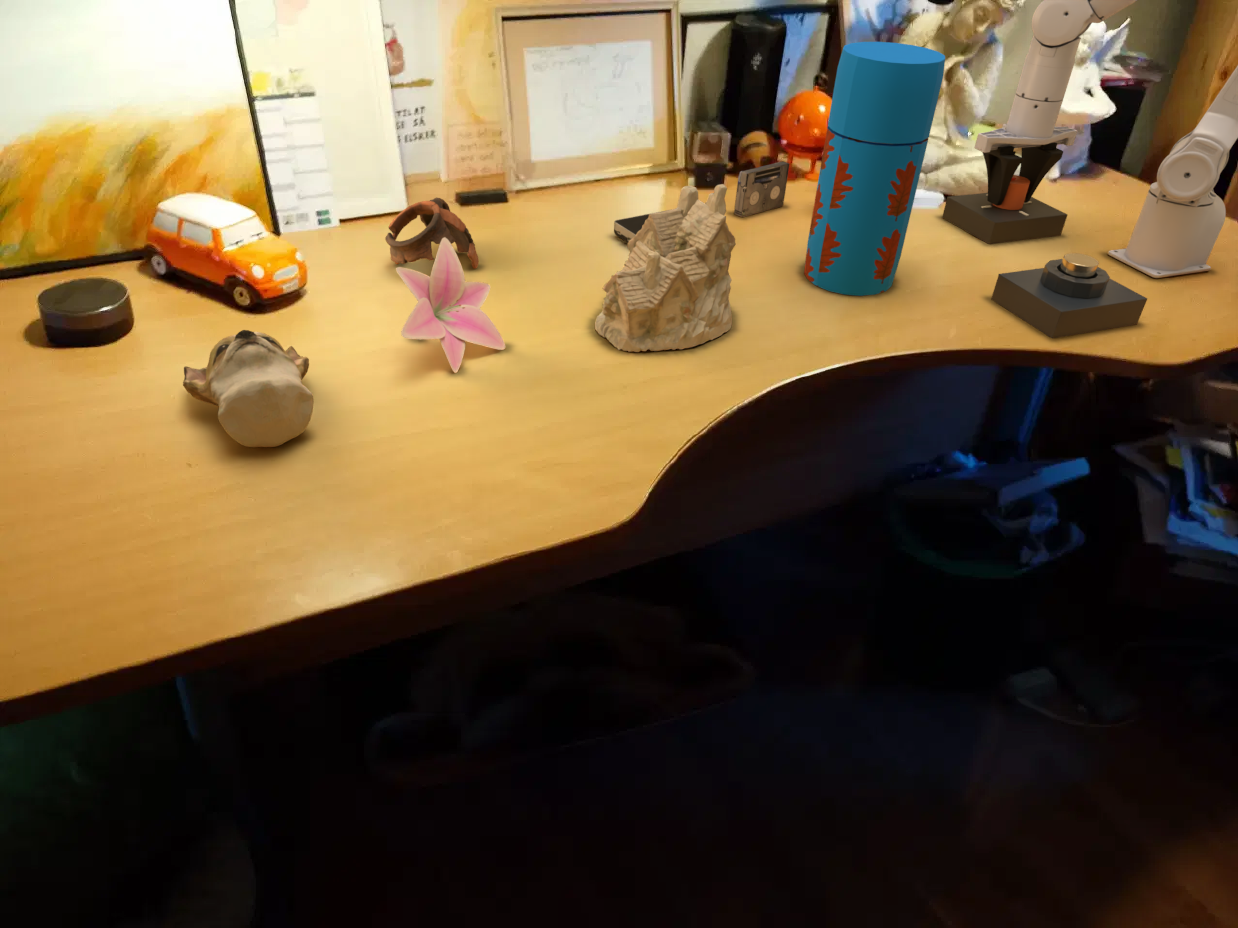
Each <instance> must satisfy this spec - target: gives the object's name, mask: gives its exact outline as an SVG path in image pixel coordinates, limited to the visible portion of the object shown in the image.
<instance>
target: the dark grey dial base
mask: <svg viewBox="0 0 1238 928" xmlns="http://www.w3.org/2000/svg"><path fill="white" fill-rule="evenodd" d="M987 198H988V192H981V193H972V194H971V193H969V194H959V195H951V196H946V200H945V203H944V207H943V208H944V209H943V212H942V216H941V218H942V219H944V220H946V221H947V222H949V223H951V224H952V225H954V226H956V227H958V228H959V229H961V230H963V231H965V232H967V233H968V234H970V235H972V236H973V237H975V238H976V239H979V240H980V241H981V242H984V243H986V244H987V245H994V244H1003V243H1004V244H1005V243H1011V242H1019V241H1020V242H1021V241H1027V240H1029V241H1030V240H1036V239H1044V238H1052V237H1053V238H1054V237H1061V235H1062V232H1063V229H1064V228H1065V227H1064V226H1065V224H1066V221H1067V218H1068V213H1065V212H1063V211H1062V210H1059V209H1058V208H1055V207H1053V206H1051V205H1049V204H1047V203H1046V202H1044V201H1041V200H1039V199H1037V198H1035V197H1033V196H1032V197H1031V198H1030V200H1029V202H1027V203H1024V204H1023V207H1022V208H1021V209H1019V210H1007V209H1002V208H998V207H996V206H994V205H993V204H992V203H990V202H989V201H987Z"/></svg>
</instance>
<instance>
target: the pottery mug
mask: <svg viewBox="0 0 1238 928" xmlns="http://www.w3.org/2000/svg"><path fill="white" fill-rule="evenodd" d="M418 216H419V219H420V222H421V223H423V224H424V226H425V228H424V229H423V230H422V231H421V232H419V233H418V234H416V235H414V236H413V237H410V238H408V239H405V240H397V239H398V236H399V234H400V233H401V232H402V230H403V229H404V228H406V226H408V224H410V223H411V222H412V221H414V220H416V219H418ZM388 230H389V231H390V232H387V235H385V238H384V240H385V242H386V243H387V245H388V246H389V255H390V260H391V261H392V262H394V264H396V265H400V264H401V265H406V264H408V263H414V262H417V261H419V260H423V259H425V260H428V261H432V262H433V261H435V259H434V256H433V249H432V243H434V244H435V245H440V242H441V240H442V238H444V237H445V238H447V239H448V240H449V242H450V243H451V245H452V244H454V243H455V246H456V251H457V252H458V253H461V254H462V253H465V254H467V258H468V259H469V260H470V264H471V266H472V268H473V269H474V270H476V269H477V268H478V266H479V261H480V260H479V255H478V253H477V249H476V244H475V242H474V240H473V237H472V234H471V233H470V231H469V228H467V225H466V224H465V223H464V221H462V219H461V218H460V217H459V216H458V215H457V214H456V213H454V212H452V211H451V209H450V206H449V204H448V203H447V202H446V201H445V200H444V199H442V198H441V197H433V199H430V200H422V201H418V202H415V203H413V204H411V205H409V206H407V207H406V208H405V209H403V210H401V211H400V212H399V213H398V214H397V215H396V216H395V217H394V218H393V219H392V220H391V222H390V223H389V226H388Z"/></svg>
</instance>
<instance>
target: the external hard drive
mask: <svg viewBox="0 0 1238 928" xmlns="http://www.w3.org/2000/svg"><path fill="white" fill-rule="evenodd" d="M672 209H673V208H672ZM672 209H670V210H672ZM668 210H669V209H667V210H661V211H657V212H655V213H659V212H664V211H668ZM653 213H654V212H651V213H646V214H640V215H635V216H629V217H625V218H619V219H615V220H614V221H613V233H614V235H615V236H617V237H618V238H619V239H621V240H623V241H625V242H626V243H628V242H629V241H630V240H631V239H632V238H633V237H635V236H636V234H637V232H638V231H639V230H641V229H642V225H644V223H645V220H647V219H648V217H649V215H650V214H653Z"/></svg>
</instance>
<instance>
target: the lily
mask: <svg viewBox="0 0 1238 928" xmlns="http://www.w3.org/2000/svg"><path fill="white" fill-rule="evenodd" d="M435 255H436V256H435V259H434V262H433V265H432V268H431V272H430V275H428V274H425V273H423V272H421V271H417V270H414V269H411V268H407V267H402V266H397V267H396V268H395V270H396V273H397V274H398V276H399V277H400V278H401V280H402V282H403V283H404V285H405V286H406V288H407V289H408V290H409V291H410V293H411V294H412V296H413V297H414V298H415V299H416V301H417V302H416V304H415V305H414V308H413V309H412V311H411V312H410V314H409V315H408V317H407V319H406V320H405V322H404V324H403V326H402V328H401V331H400V335H401V337H403V338H404V339H408V340H418V341H420V340H439V342H440V345H441V347H442V349H443V352H444V354H445V357H446V359H447V361H448V364H449V365H450V367H451V370H452V372H454V373H455V374H456V373H457V372H458V371H459V369H460V367H461V365H462V362H463V359H464V355H465V350H466V342H468V343H472V344H474V345H479V346H483V347H486V348H490V349H494V350H499V351H503V350H505V349H506V343H505V341H504V338H503V336H502V334H501V333H500V332H499V330H498V328H497V326H496V325H495V324H494V322H493V321H492V319H491V318H490V316H488V314H487V313H486V312H484V311H483V309H481V308H482V306H483V305H484V303H485V302H486V300H487V298H488V296H489V293H490V291H491V285H490V284H489V283H488V282H484V281H483V282H482V281H466V278H465V277H466V276H465V272H464V269H463V266H462V264H461V263H462V262H461V261H460V259H459V256H458V254H457V253H456V250H455V248H454V247H453V245H452V244H451V243H450V242H449V240H448V239H447V238H445V237H444V238H442V240H441V242H440V244H438V249H437V252H436V254H435Z"/></svg>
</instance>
